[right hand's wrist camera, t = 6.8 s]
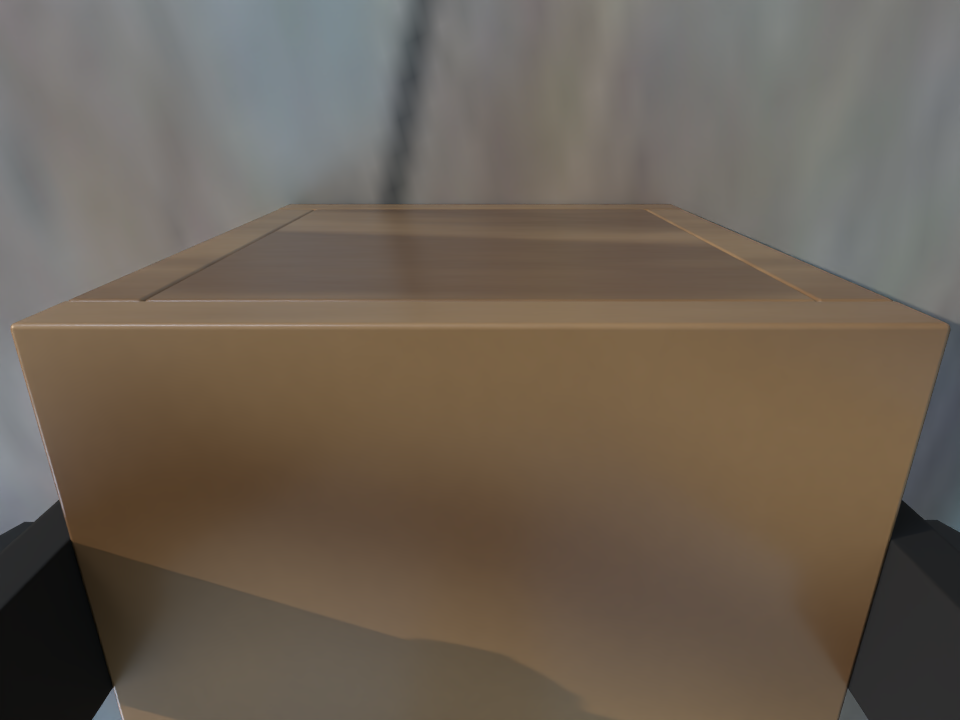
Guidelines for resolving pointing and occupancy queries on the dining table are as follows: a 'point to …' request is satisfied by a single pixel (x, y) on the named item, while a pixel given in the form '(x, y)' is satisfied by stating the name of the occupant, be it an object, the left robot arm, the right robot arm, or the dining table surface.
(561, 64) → the dining table surface
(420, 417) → the cabinet
